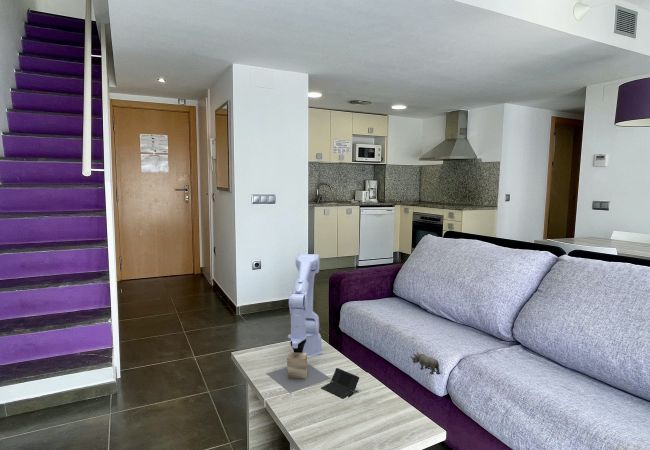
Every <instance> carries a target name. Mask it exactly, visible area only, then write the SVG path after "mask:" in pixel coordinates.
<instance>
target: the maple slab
mask: <svg viewBox="0 0 650 450" xmlns="http://www.w3.org/2000/svg"><path fill="white" fill-rule="evenodd" d="M307 363H308V357H307V353H296V352H294V351H292V352H291V351H289V352H287V356H286V365H287V366H286V367H287V368H288V378H304V379H306V378H307V374H308V367H307Z"/></svg>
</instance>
